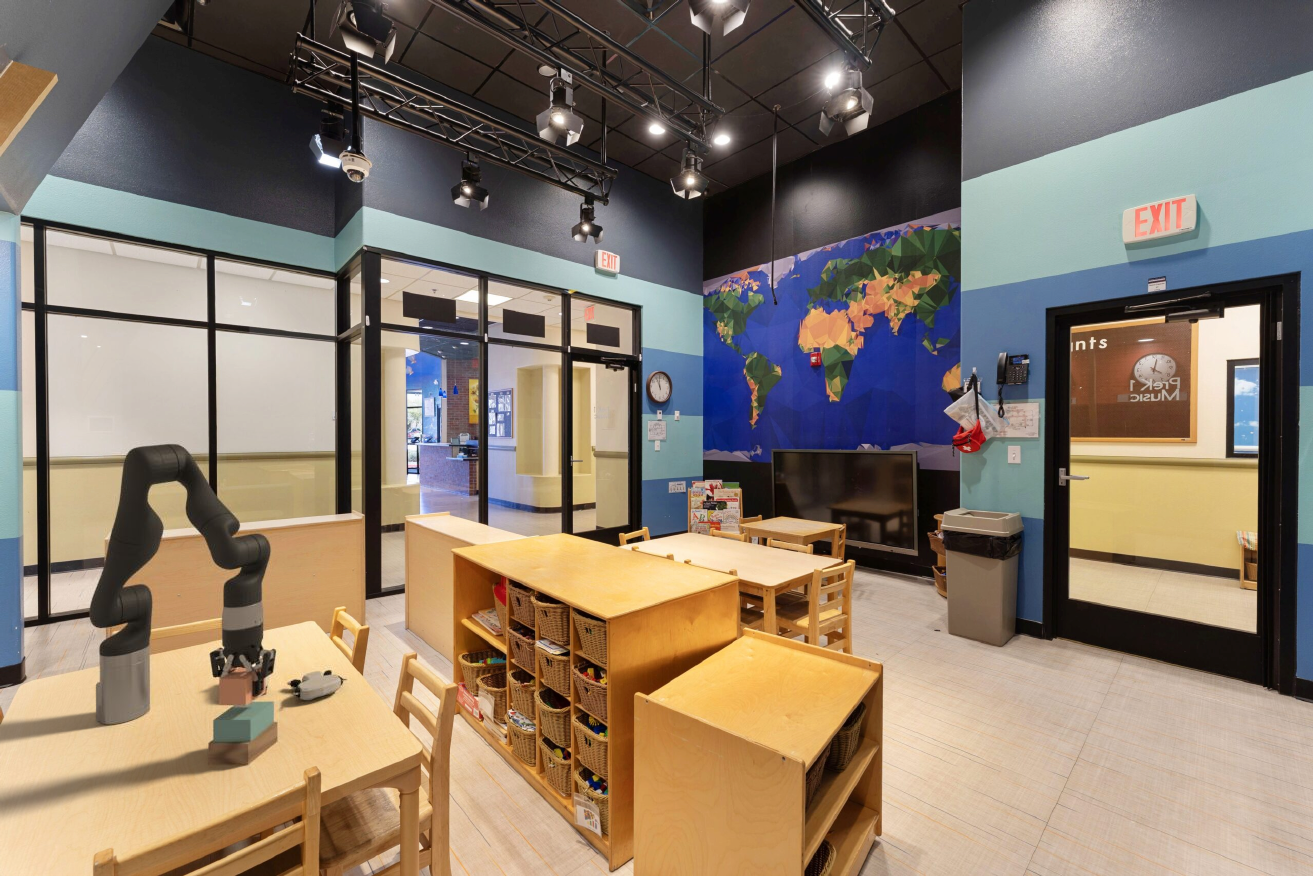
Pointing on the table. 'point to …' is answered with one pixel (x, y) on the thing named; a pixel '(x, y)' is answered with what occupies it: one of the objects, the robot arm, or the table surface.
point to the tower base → (242, 748)
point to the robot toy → (316, 684)
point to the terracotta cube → (237, 688)
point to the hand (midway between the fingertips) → (243, 694)
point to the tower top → (243, 722)
